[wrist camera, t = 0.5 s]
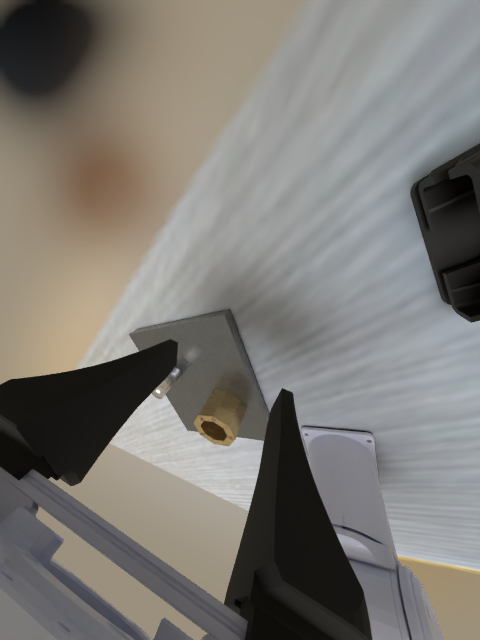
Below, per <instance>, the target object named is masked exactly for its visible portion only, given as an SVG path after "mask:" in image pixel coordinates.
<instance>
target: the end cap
mask: <svg viewBox="0 0 480 640" xmlns="http://www.w3.org/2000/svg"><path fill="white" fill-rule="evenodd" d="M411 198H412V201H413V205H414V208H415V211H416V215H417V218H418V221H419V225H420V228H421V231H422V235H423V238H424V241H425V245H426V248H427V251H428V255H429V258H430V261H431V265H432V268H433V271H434V275H435V278H436V282H437V285H438V288H439V292H440V295H441V298H442V300H443V301H444V302H446V303H447V304H450V305H452V307H453V309H454V310H455V312H456V313H457V314H459V315H460V316H462V317H463V318H465V319H466V320H468V321H470V322H475V321H480V144H478V145H476V146H475V147H473V148H471V149H469V150H468V151H466V152H464V153H462V154H461V155H459V156H457V157H455V158H454V159H452V160H450V161H448V162H447V163H445V164H443V165H442V166H440V167H438V168H436V169H435V170H433V171H432V172H431V173H430V174H429V175H427V176H425V177H424V178H422V179H420V180H419V181H418V182H416V183H415V184H414V185H413V187H412V189H411Z"/></svg>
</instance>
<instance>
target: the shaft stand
mask: <svg viewBox="0 0 480 640" xmlns="http://www.w3.org/2000/svg"><path fill="white" fill-rule="evenodd" d="M129 335H130V337H131V338H132V340H133V342H134V343H135V345H136V347H137V348H138V350H139V351H142V350H144V349H147V348H149V347H152V346H154V345H157V344H159V343H162V342H164V341H167V340H169V339H171V340H174V341H176V342H178V353H177V365H176V366H175V368H174V369H173V370H172V372H171V373H170V374H169V375H168V377H167V378H166V379H165V380H164V381H163V382H162V383H161V384H160V385H159V386H158V387H157V388H156V389H155V390H154V391H153V392H152V394H153V395H154V396H155V397H156V398H159V399H161V398H162V397H163V396H164V395H165V394H166V396H167V397H168V399H169V401H170V402H171V404H172V406H173V407H174V409H175V410H176V412H177V414H178V415H179V417H180V419H181V420H182V422H183V424H184V425H185V427H186V429H187V430H189V431H196V432H198V430H197V428H196V426H195V425H194V421H195V420H196V418H197V416H198V415H199V413H200V411H201V410H202V408H203V406H204V405H205V403H206V401H207V400H208V398H209V396H210V395H211V393H212V391H213V390H227V391H229V392H230V393H232V394H234V395H235V396H237V397H238V398H240V399H241V401H242V403H243V406H244V408H245V410H246V412H245V414H244V417H243V420H242V423H241V426H240V428H239V431H238V434H237V437H241V438H249V439H256V440H263V441H264V440H265V434H266V428H267V423H268V420H269V416H270V415H269V412H268V409H267V407H266V404H265V401H264V399H263V396H262V394H261V391H260V388H259V386H258V383H257V380H256V378H255V375H254V372H253V370H252V367H251V364H250V362H249V359H248V356H247V354H246V351H245V348H244V346H243V343H242V341H241V338H240V335H239V333H238V330H237V327H236V325H235V322H234V319H233V317H232V314H231V311H230V310H225V311H220V312H216V313H211V314H206V315H201V316H197V317H192V318H187V319H183V320H178V321H173V322H168V323H164V324H159V325H154V326H150V327H145V328H140V329H137V330H135V331H133V332H132V333H130V334H129Z"/></svg>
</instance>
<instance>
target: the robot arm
mask: <svg viewBox="0 0 480 640" xmlns="http://www.w3.org/2000/svg"><path fill="white" fill-rule="evenodd" d="M177 353H178V342H176V341H174V340H171V339H169V340H167V341H164V342H162V343H159V344H157V345H154V346H152V347H149V348H147V349H144V350H142V351H139V352H137V353H134V354H131V355H128V356H125V357H122V358H119V359H116V360H113V361H110V362H106V363H103V364H99V365H95V366H91V367H87V368H82V369H78V370H73V371H68V372H62V373H57V374H50V375H44V376H36V377H28V378H20V379H11V380H8V381H7V382H5V383H3V384H1V385H0V640H193V639H192V638H191V637H189V636H188V635H187V634H185V633H184V632H183V631H181V630H180V629H179V628H178V627H176V626H175V625H174V624H172V623H171V622H170V621H169V620H167V619H166V618H163V619H162V620H161V623H160V625H159V627H158V630H157V633H156V635H155V638H154V639H153V638H151V637H150V636H149V635H148V634H147V633H146V632H144V631H143V630H142V629H141V628H140V627H138V626H137V625H136V624H135V623H134V622H132V621H131V620H130V619H129V618H128V617H126V616H125V615H124V614H123V613H122V612H121V611H119V610H118V609H117V608H116V607H115V606H113V605H112V604H111V603H110V602H108V601H107V600H106V599H105V598H103V597H102V596H101V595H100V594H98V593H97V592H96V591H95V590H93V589H92V588H91V587H89V586H88V585H87V584H86V583H84V582H83V581H82V580H81V579H79V578H78V577H76V576H75V575H74V574H73V573H72V572H70V571H69V570H68V569H66V568H65V567H64V566H63V565H61V564H60V563H59V562H57V561H56V560H55V559H53V558H52V556H53V554H54V553H55V552H56V551H57V550H58V548H59V547H60V546H61V544H62V543H63V538H61V537H60V536H59V535H57V534H56V533H55V532H54V531H52V530H51V529H50V528H49V527H47V526H46V525H45V524H43V523H42V522H41V521H40V520H38V519H37V518H36V513H37V511H38V506H40V507H41V508H42V509H44V510H45V511H46V512H48V513H49V514H50V515H52V516H53V517H54V518H56V519H57V520H58V521H60V522H61V523H62V524H63V525H65V526H66V527H67V528H69V529H70V530H72V531H73V532H74V533H75V534H77V535H78V536H79V537H81V538H82V539H83V540H85V541H86V542H87V543H89V544H90V545H91V546H93V547H94V548H95V549H97V550H98V551H100V552H101V553H102V554H103V555H105V556H106V557H107V558H109V559H110V560H111V561H112V562H114V563H115V564H116V565H118V566H119V567H121V568H122V569H123V570H124V571H126V572H127V573H128V574H130V575H131V576H132V577H134V578H135V579H136V580H138V581H139V582H140V583H142V584H143V585H144V586H146V587H147V588H148V589H150V590H151V591H152V592H154V593H155V594H156V595H158V596H159V597H160V598H162V599H163V600H164V601H166V602H167V603H168V604H170V605H171V606H172V607H173V608H175V609H176V610H177V611H179V612H180V613H181V614H183V615H184V616H185V617H187V618H188V619H189V620H191V621H192V622H193V623H195V624H196V625H197V626H199V627H200V628H201V629H203V630H204V631H205V632H207V633H208V634H209V635H208V634H207V635H205V636H203V638H202V639H201V640H444V638H443V635H442V632H441V630H440V627H439V624H438V621H437V619H436V616H435V613H434V610H433V608H432V605H431V602H430V600H429V597H428V595H427V593H426V591H425V588H424V586H423V585H422V584H421V582H420V581H419V580H418V578H417V577H416V576H415V575H414V574H413V572H412V571H411V570H410V568H409V567H406V566H402V565H401V564H400V562H399V561H398V558H397V554H396V550H395V546H394V542H393V538H392V534H391V530H390V526H389V522H388V518H387V514H386V510H385V506H384V502H383V498H382V494H381V490H380V486H379V478H378V470H377V461H376V453H375V444H374V437H373V435H372V434H371V433H367V432H356V431H345V430H334V429H323V428H312V427H302V434H303V438H304V441H305V444H306V447H307V451H308V454H309V463H308V460H307V457H306V453H305V450H304V446H303V443H302V439H301V435H300V431H299V426H298V422H297V417H296V411H295V405H294V398H293V393H292V392H290V391H287V390H285V389H283V388H282V389H281V391H280V393H279V395H278V397H277V399H276V401H275V403H274V405H273V407H272V409H271V412H270V416H269V420H268V423H267V428H266V434H265V440H264V446H263V452H262V458H261V464H260V469H259V474H258V478H257V482H256V486H255V490H254V494H253V498H252V502H251V506H250V510H249V514H248V517H247V521H246V525H245V528H244V532H243V536H242V539H241V543H240V547H239V550H238V554H237V557H236V561H235V564H234V568H233V572H232V575H231V578H230V582H229V586H228V589H227V593H226V598H225V602H224V604H223V603H221V602H220V601H219V600H217V599H216V598H214V597H213V596H212V595H210V594H209V593H207V592H206V591H205V590H203V589H202V588H200V587H199V586H197V585H196V584H195V583H193V582H192V581H190V580H189V579H188V578H186V577H185V576H183V575H182V574H180V573H179V572H178V571H176V570H175V569H173V568H172V567H171V566H169V565H168V564H166V563H165V562H164V561H162V560H161V559H159V558H158V557H156V556H155V555H153V554H152V553H151V552H150V551H148V550H147V549H145V548H144V547H142V546H141V545H140V544H138V543H137V542H135V541H134V540H132V539H131V538H130V537H128V536H127V535H125V534H124V533H123V532H121V531H120V530H118V529H117V528H116V527H114V526H113V525H111V524H110V523H108V522H107V521H106V520H104V519H103V518H101V517H100V516H99V515H97V514H96V513H94V512H93V511H92V510H90V509H89V508H87V507H86V506H85V505H83V504H82V503H80V502H79V501H78V500H76V499H75V498H73V497H72V496H70V495H69V494H68V493H66V492H65V491H63V490H62V489H61V488H59V487H58V486H56V485H55V484H54V483H52V482H51V481H49V480H48V479H49V478H50V477H52V478H54V479H55V480H58V479H59V478H60V479H61V480H63V481H64V482H66V483H67V484H69V485H70V486H74V485H76V484H78V483H80V482H81V481H82V480H83V478H84V477H85V475H86V474H87V473H88V471H89V470H90V468H91V467H92V466H93V464H94V463H95V461H96V460H97V458H98V457H99V456H100V454H101V453H102V452H103V450H104V449H105V448H106V446H107V445H108V444H109V442H110V441H111V440H112V438H113V437H114V436H115V434H116V433H117V432H118V431H119V429H120V428H121V427H122V426H123V424H124V423H125V422H126V421H127V419H128V418H129V417H130V416H131V415H132V413H133V412H134V411H135V410H136V409H137V407H138V406H139V405H140V404H141V403H142V402H143V401H144V400H145V399H146V398H147V397H148V396H149V395H150V394H151V393H152V392H153V391H154V390H155V389H156V388H157V387H158V386H159V385H160V384H161V383H162V382H163V381H164V380H165V379H166V378H167V377H168V375H169V374H170V373H171V372H172V370H173V369H174V368H175V366H176V365H177Z"/></svg>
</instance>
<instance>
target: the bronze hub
mask: <svg viewBox="0 0 480 640" xmlns="http://www.w3.org/2000/svg"><path fill="white" fill-rule="evenodd" d="M245 412H246V410H245V408H244V406H243V403H242V401H241V399H240V398H238V397H237V396H235V395H234V394H232V393H230V392H229V391H227V390H213V391H212V393H211V395H210V396H209V398H208V400H207V401H206V403H205V405H204V406H203V408H202V410H201V411H200V413H199V415H198V416H197V418H196V420H195V421H194V425H195V426H196V428H197V430H198V432H199V433H200V435H202V436H203V437H205V438H206V439H208V440H209V441H211V442H212V443H214V444H218V445H224V446H229V445H230V444H231V443H232V442H233V441H234V440H235V439H236V437H237V434H238V431H239V428H240V426H241V423H242V420H243V417H244V414H245Z"/></svg>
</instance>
